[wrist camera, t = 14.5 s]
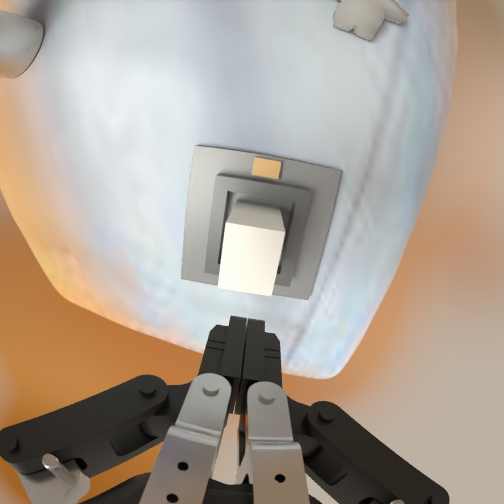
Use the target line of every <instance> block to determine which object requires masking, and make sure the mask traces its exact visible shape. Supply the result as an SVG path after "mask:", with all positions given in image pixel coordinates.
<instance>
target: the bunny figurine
mask: <svg viewBox="0 0 504 504" xmlns="http://www.w3.org/2000/svg"><path fill="white" fill-rule="evenodd" d="M338 1H340V3H339V5H338V7H337V8H336V10H335V11H334V16H333V18H334V25H333V26H334V27H336V28H339V29H342V30H344V31H347V32H349V31H350V30H352V29H353V31H354V34H355V35H357V36H359V37H362V38H364V39H366V40H368V41H370V40H371V39H373V38H374V36H375V33H376V32H377V30H378V29H379V27H380V26H381V24H382V22H383V20H384V19H386V20H389V21H392V22H395V23H397V24H400V23H402V22H403V21H405V20H406V19H407V17H408V14H407V13H406V12H405V11H404V10H403V9H402V8H401V7H400V6H399V5H398V4H397V3H396V2H395V1H394V0H338Z"/></svg>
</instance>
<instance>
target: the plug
mask: <svg viewBox="0 0 504 504" xmlns="http://www.w3.org/2000/svg"><path fill="white" fill-rule="evenodd" d="M284 236H285V229H284V224H283V220H282V215H281V211H280V207H279V206H275V205H269V204H263V203H257V202H251V201H245V200H238V199H237V201H236V203H235V205H234V207H233V209H232V211H231V213H230V215H229V217H228V219H227V221H226V225H225V232H224V240H223V248H222V256H221V264H220V272H219V281H218V288H223V289H229V290H235V291H241V292H247V293H254V294H260V295H266V296H272V291H273V287H274V282H275V278H276V273H277V269H278V264H279V259H280V255H281V250H282V245H283V241H284Z"/></svg>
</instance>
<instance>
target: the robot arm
mask: <svg viewBox="0 0 504 504" xmlns="http://www.w3.org/2000/svg"><path fill="white" fill-rule="evenodd" d="M43 32H44V30H43V25H42V24H41V23H40V22H38V21H35V20H32V19H29V18H26V17H23V16H19V15H16V14H12V13H8V12H5V11H1V10H0V77H9V78H14V77H17V76H19V75H20V74H22V73H23V72H24V71H25V70H26V69H27V67H28V66H29V65H30V63H31V62H32V61H33V59H34V57H35V56H36V54H37V52H38V50H39V47H40V45H41V42H42V38H43ZM246 323H247V327H246ZM235 401H236V405H235ZM234 406H235V414H238V415H240V421H239V426H238V431H237V475H236V484H235V485H227V484H223V483H221V482H218V481H216V480H213V479H212V476H213V472H214V467H215V463H216V459H217V455H218V451H219V447H220V443H221V439H222V435H223V431H224V428H225V426H226V424H227V419H228V415H229V413H231V414H232V413H233V410H234ZM163 441H164V442H163ZM160 442H163V444H162V447H161V450H160V452H159V454H158V457H157V459H156V462H155V464H154V467H153V470H152V472H151V473H144V474H140V475H137V476H134V477H132V478H130V479H128V480H126V481H124V482H122V483H120V484H119V485H117V486H115V487H113V488H111V489H109V490H107V491H105V492H103V493H101V494H99V495H97V496H95V497H93V498H91V499H88V500H86V501H84V502H82V503H79V504H322V503H321V502H320V501H318V500H317V499H316V498H314V497H312V496H311V495H309V494H308V489H307V482H306V475H305V473H306V474H307V475H308V476H309V477H311V478H312V480H314V481H315V482H316V483H317V484H318V485H319V486H320V487H321V488H322V489H323V490H324V491H325V492H327V493H328V494H329V495H330V496H331V497H332V498H333V499H335V500H336V501H337V502H338V503H339V504H449V495H448V493H447V491H446V490H445V489H444V488H443V487H441V486H440V485H438V484H437V483H435V482H434V481H433V480H431V479H430V478H428V477H427V476H426V475H424V474H423V473H421V472H420V471H419V470H417V469H416V468H414V467H413V466H412V465H411V464H409V463H408V462H407V461H405V460H404V459H403V458H401V457H400V456H399V455H397V454H396V453H395V452H394V451H392V450H391V449H390V448H388V447H387V446H386V445H385V444H383V443H382V442H381V441H379V440H378V439H377V438H376V437H375V436H373V435H372V434H371V433H370V432H368V431H367V430H366V429H365V428H363V427H362V426H361V425H360V424H359V423H357V422H356V421H355V420H354V419H353V418H351V417H350V416H349V415H348V414H347V413H346V412H344V411H343V410H342V409H341V408H340V407H338V406H337V405H335V404H334V403H331V402H327V401H319V402H316V403H314V404H312V405H311V406H308V405H305V404H302V403H299V402H296V401H294V400H292V399H291V398H289V397H288V396H287V395H286V393H285V391H284V390H283V388H282V373H281V352H280V341H279V340H278V338H277V336H276V335H275V334H274V333H267V332H265V321H263V320H256V319H250V318H248V322H247V318H243V317H237V316H231V317H230V322H229V327H228V326H223V325H216V326H215V327H214V328H213V329H212V330H211V331H210V333H209V337H208V341H207V344H206V348H205V351H204V355H203V358H202V362H201V366H200V370H199V373H198V375H197V377H196V378H195V379H194V380H193V381H191V382H189V383H187V384H183V385H166V383H165V382H164V381H163V380H162V379H161V378H159V377H157V376H153V375H141V376H138V377H135V378H133V379H131V380H129V381H126V382H124V383H122V384H120V385H117V386H115V387H113V388H110V389H108V390H106V391H103V392H101V393H99V394H96V395H94V396H91V397H89V398H87V399H84V400H82V401H79V402H76V403H74V404H71V405H69V406H66V407H64V408H61V409H58V410H56V411H53V412H50V413H48V414H45V415H42V416H39V417H36V418H33V419H31V420H27V421H24V422H21V423H19V424H15V425H12V426H9V427H6V428H4V429H2V430H1V431H0V456H1V457H2V458H3V459H4V460H5V461H6V462H7V463H8V464H10V465H11V466H12V468H13V469H14V470H15V471H16V472H17V473H18V475H19V477H20V480H21V482H22V484H23V486H24V489H25V491H26V493H27V495H28V497H29V499H30V500H31V502H32V504H76V503H77V501H78V500H79V499H80V498H81V497H83V496H84V495H86V494H87V492H88V491H89V488H90V481H89V478H91V477H93V476H95V475H97V474H100V473H102V472H104V471H107V470H109V469H111V468H113V467H115V466H117V465H119V464H121V463H123V462H125V461H127V460H129V459H131V458H133V457H135V456H137V455H139V454H141V453H143V452H144V451H146V450H148V449H150V448H152V447H154V446H155V445H157V444H159V443H160Z"/></svg>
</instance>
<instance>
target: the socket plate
mask: <svg viewBox="0 0 504 504" xmlns="http://www.w3.org/2000/svg"><path fill="white" fill-rule="evenodd" d="M341 172H342V171H339V170H335V169H331V168H326V167H322V166H318V165H313V164H309V163H304V162H299V161H294V160H289V159H284V158H278V157H273V156H267V155H261V154H255V153H249V152H242V151H236V150H228V149H221V148H213V147H204V146H194V147H193V155H192V162H191V170H190V179H189V187H188V197H187V206H186V217H185V229H184V241H183V256H182V273H181V279H184V280H190V281H195V282H200V283H206V284H211V285H217V286H218V281H219V272H220V264H221V256H222V248H223V240H224V232H225V225H226V221H227V219H228V217H229V215H230V213H231V211H232V209H233V207H234V205H235V203H236V201H237V199H238V200H245V201H251V202H257V203H263V204H269V205H275V206H279V207H280V211H281V215H282V220H283V224H284V229H285V236H284V241H283V245H282V250H281V255H280V259H279V264H278V269H277V273H276V278H275V282H274V287H273V291H272V295H278V296H284V297H291V298H298V299H305V300H309V297H310V293H311V290H312V287H313V283H314V280H315V276H316V273H317V269H318V266H319V262H320V258H321V255H322V251H323V247H324V244H325V240H326V236H327V232H328V228H329V224H330V220H331V216H332V212H333V207H334V203H335V199H336V194H337V190H338V186H339V181H340V176H341Z"/></svg>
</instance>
